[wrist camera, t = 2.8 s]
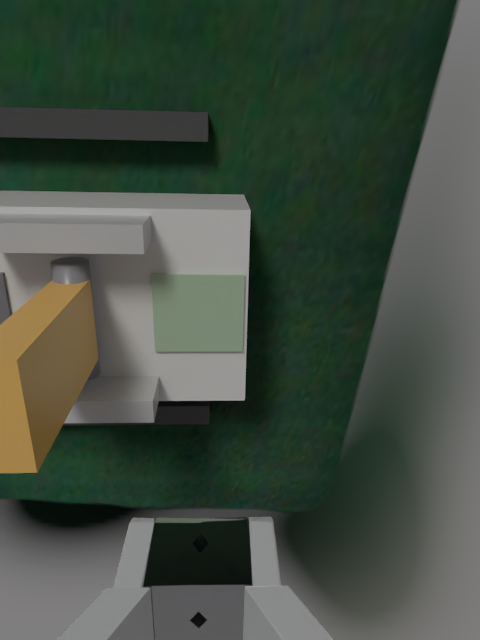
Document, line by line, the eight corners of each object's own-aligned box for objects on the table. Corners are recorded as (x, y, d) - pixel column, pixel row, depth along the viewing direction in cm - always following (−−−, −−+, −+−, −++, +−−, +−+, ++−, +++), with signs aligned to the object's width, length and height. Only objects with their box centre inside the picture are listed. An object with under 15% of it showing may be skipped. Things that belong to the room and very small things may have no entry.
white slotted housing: (-10, 351, 29) (-94, 430, 21) (-43, 190, 25) (-160, 213, 17) (239, 351, 30) (247, 427, 22) (243, 194, 26) (254, 218, 18)
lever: (71, 366, 23) (-10, 493, 15) (57, 256, 21) (-48, 334, 13) (103, 365, 23) (40, 492, 15) (92, 257, 21) (12, 334, 13)
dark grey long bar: (-93, 134, 24) (-111, 134, 23) (-100, 105, 24) (-118, 104, 22) (208, 141, 25) (208, 141, 24) (208, 113, 24) (207, 112, 23)
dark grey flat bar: (-28, 414, 31) (-39, 426, 29) (-38, 369, 29) (-50, 380, 28) (209, 412, 31) (209, 424, 30) (209, 369, 30) (209, 379, 29)
